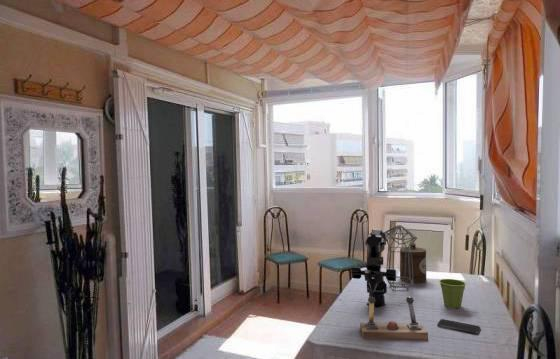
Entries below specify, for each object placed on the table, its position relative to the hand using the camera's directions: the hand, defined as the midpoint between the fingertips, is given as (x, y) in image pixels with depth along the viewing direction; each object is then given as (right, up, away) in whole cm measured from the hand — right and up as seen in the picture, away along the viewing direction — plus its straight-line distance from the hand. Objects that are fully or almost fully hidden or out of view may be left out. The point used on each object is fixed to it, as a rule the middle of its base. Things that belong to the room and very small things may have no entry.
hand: (372, 291), depth 156 cm
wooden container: (+40, -13, +65) cm, 78 cm away
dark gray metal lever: (-3, -10, -9) cm, 14 cm away
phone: (+34, -14, -4) cm, 37 cm away
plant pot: (+43, -13, +20) cm, 49 cm away
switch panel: (+6, -14, -10) cm, 18 cm away
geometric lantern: (+27, -13, +47) cm, 56 cm away
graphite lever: (+14, -9, -10) cm, 19 cm away
